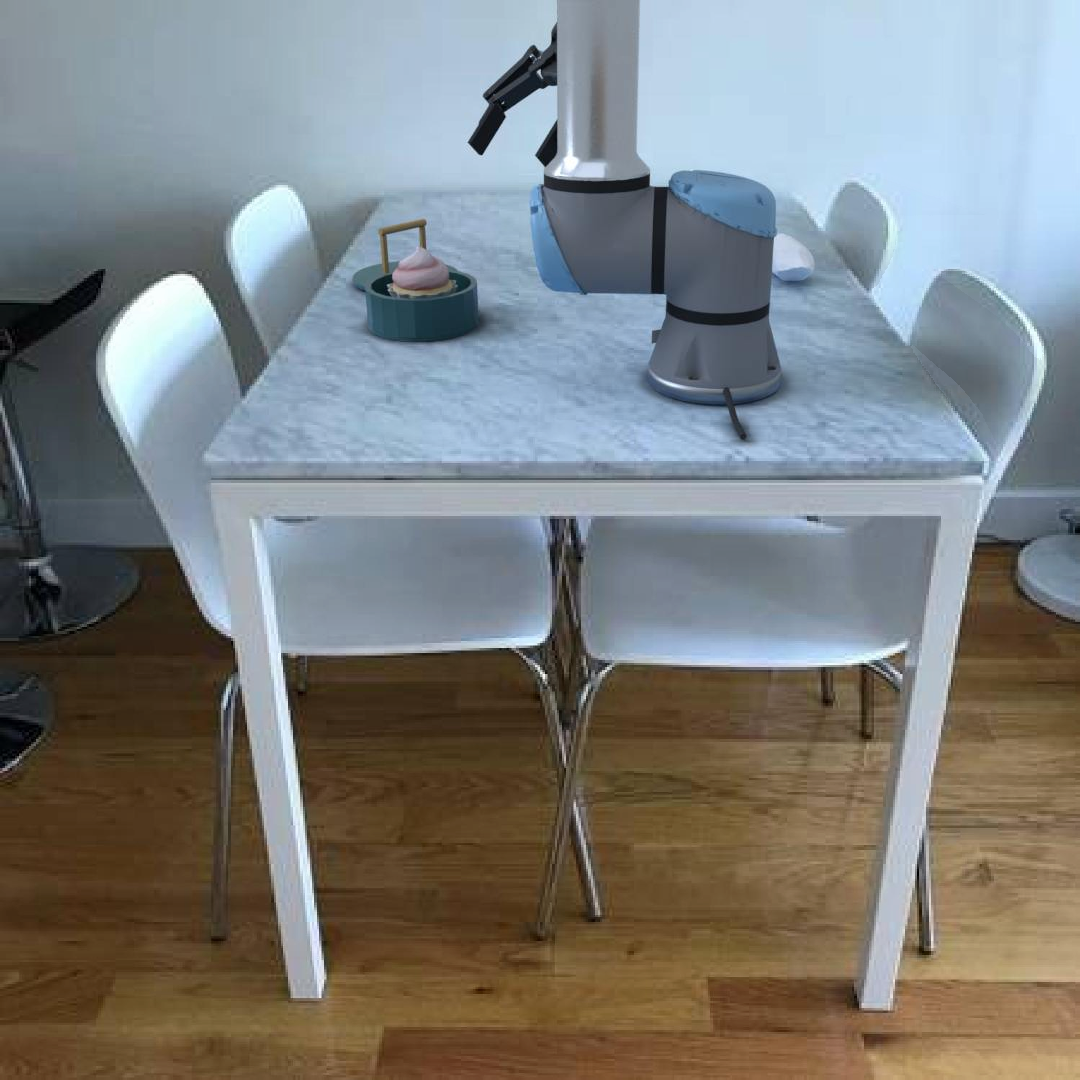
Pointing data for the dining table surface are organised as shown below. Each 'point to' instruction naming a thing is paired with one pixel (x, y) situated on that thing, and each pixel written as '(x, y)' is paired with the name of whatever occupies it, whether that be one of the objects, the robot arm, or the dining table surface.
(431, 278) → the cupcake
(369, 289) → the tin
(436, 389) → the dining table surface
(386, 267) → the tin lid
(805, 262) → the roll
